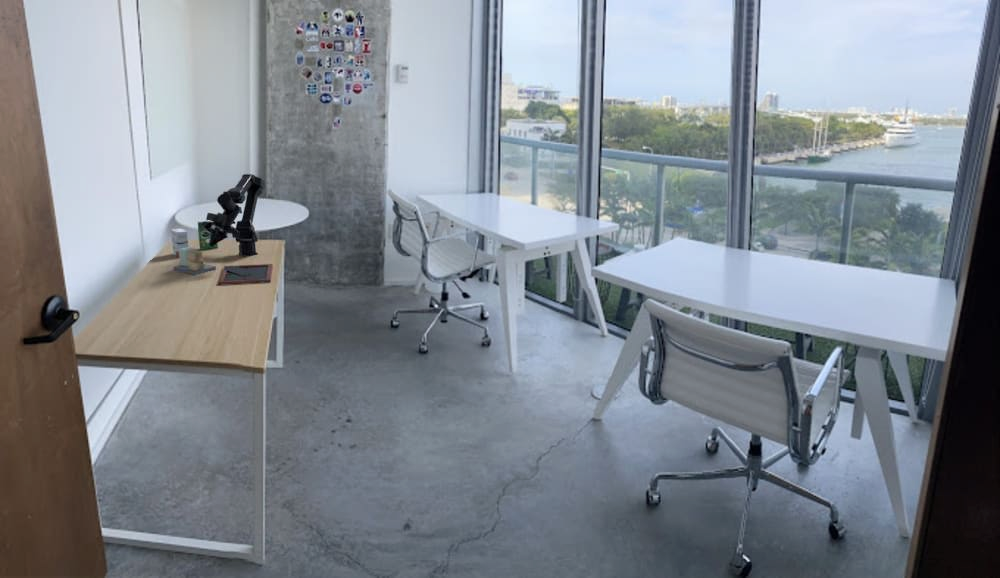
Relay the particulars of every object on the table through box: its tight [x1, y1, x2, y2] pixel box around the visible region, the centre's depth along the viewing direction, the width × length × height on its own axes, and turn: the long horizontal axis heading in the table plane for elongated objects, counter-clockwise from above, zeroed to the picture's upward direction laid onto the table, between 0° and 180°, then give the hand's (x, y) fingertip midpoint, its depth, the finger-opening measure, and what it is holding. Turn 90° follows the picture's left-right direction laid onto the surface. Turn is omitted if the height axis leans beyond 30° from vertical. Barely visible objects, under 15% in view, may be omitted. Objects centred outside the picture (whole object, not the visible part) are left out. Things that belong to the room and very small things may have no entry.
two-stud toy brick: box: [178, 247, 196, 266], centre depth 316 cm, size 4×4×7 cm
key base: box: [172, 263, 217, 276], centre depth 315 cm, size 10×14×2 cm
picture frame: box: [218, 263, 274, 286], centre depth 309 cm, size 20×2×25 cm
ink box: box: [170, 228, 189, 258], centre depth 337 cm, size 8×5×12 cm, turn 39°
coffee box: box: [197, 220, 219, 250], centre depth 350 cm, size 8×3×13 cm, turn 117°
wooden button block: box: [186, 250, 205, 270], centre depth 310 cm, size 4×4×7 cm
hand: (210, 245), depth 315 cm, fingers closed
